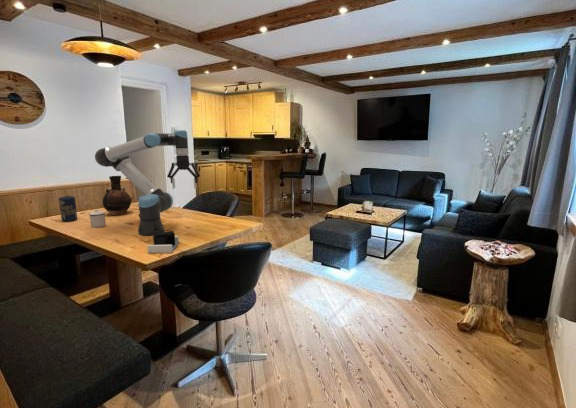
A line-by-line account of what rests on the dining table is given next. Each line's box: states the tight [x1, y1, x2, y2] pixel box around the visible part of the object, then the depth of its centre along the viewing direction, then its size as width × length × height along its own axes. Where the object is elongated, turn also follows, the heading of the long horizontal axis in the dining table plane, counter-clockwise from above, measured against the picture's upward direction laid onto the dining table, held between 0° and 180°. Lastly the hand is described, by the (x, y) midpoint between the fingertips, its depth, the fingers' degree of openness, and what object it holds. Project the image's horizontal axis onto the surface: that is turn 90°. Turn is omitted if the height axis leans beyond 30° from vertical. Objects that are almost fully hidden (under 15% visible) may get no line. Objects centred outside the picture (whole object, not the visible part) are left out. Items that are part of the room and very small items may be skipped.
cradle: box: [146, 235, 180, 254], centre depth 172 cm, size 12×16×4 cm
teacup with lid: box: [88, 208, 107, 229], centre depth 212 cm, size 12×9×12 cm
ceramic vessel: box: [102, 175, 132, 216], centre depth 244 cm, size 21×18×30 cm
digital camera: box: [152, 230, 176, 245], centre depth 172 cm, size 10×5×7 cm, turn 125°
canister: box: [58, 195, 78, 222], centre depth 225 cm, size 10×10×18 cm
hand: (184, 188), depth 205 cm, fingers open, 13 cm apart
